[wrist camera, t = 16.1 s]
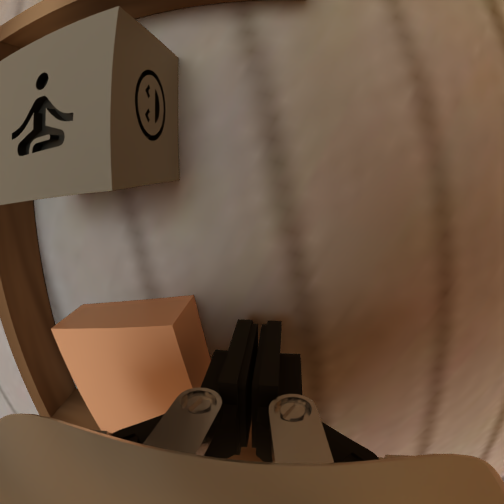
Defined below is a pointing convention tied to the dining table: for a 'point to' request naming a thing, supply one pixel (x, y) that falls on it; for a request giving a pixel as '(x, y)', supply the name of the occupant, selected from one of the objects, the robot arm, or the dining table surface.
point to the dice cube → (88, 111)
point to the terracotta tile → (133, 356)
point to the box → (26, 244)
